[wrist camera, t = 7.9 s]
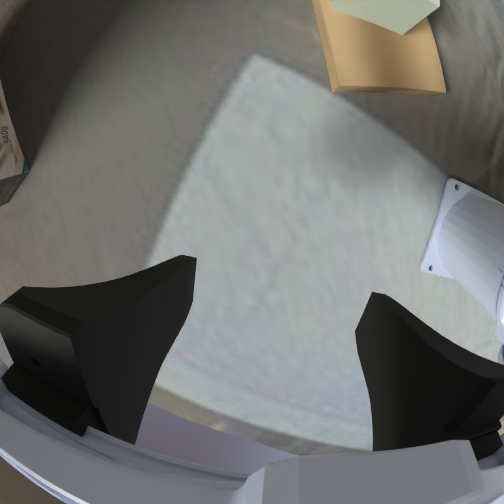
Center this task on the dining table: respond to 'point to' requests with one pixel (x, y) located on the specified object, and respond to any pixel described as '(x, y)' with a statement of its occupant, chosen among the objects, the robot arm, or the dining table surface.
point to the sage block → (388, 12)
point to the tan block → (378, 55)
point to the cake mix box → (9, 156)
